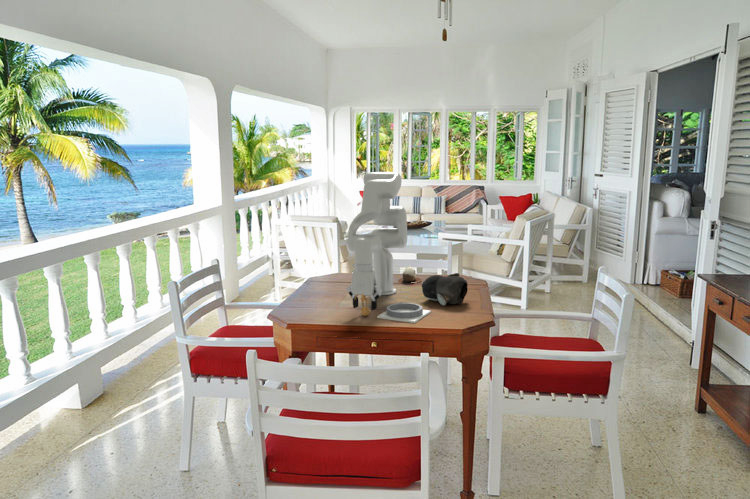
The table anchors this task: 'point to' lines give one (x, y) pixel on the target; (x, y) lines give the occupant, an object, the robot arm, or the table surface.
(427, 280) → the dark grey rounded piece
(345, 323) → the table surface
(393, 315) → the ring stand
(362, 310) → the figurine
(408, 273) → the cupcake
